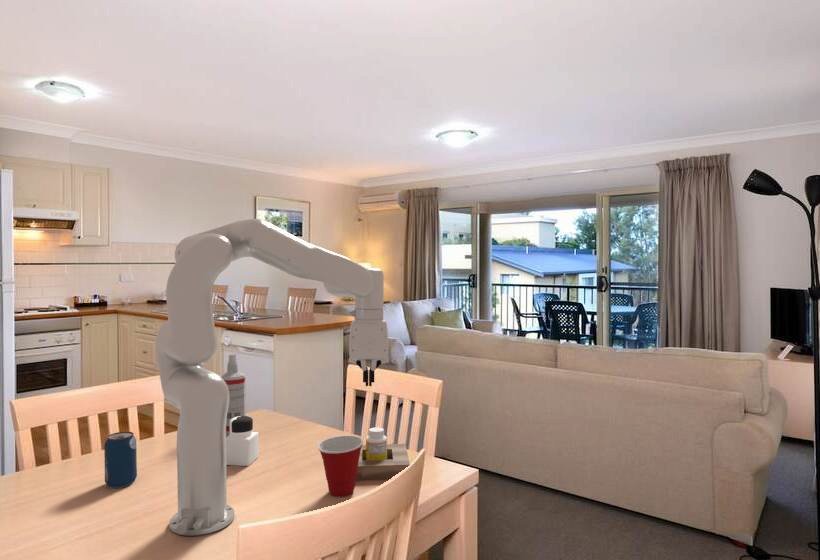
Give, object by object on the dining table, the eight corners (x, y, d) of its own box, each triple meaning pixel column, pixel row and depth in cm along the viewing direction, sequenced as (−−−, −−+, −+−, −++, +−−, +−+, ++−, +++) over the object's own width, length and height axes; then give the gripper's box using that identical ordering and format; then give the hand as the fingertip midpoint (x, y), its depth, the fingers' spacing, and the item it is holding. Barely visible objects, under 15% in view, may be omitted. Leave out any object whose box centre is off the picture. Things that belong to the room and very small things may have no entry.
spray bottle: (242, 434, 170) (242, 355, 169) (218, 435, 169) (217, 356, 168) (247, 426, 178) (246, 352, 177) (223, 427, 177) (223, 352, 176)
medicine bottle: (259, 456, 149) (258, 414, 149) (248, 466, 142) (248, 421, 142) (234, 456, 150) (234, 413, 150) (223, 465, 143) (222, 421, 143)
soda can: (143, 479, 133) (142, 432, 133) (121, 490, 127) (120, 440, 126) (120, 476, 135) (120, 429, 135) (98, 487, 129) (97, 438, 128)
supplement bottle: (371, 462, 145) (371, 425, 144) (390, 465, 143) (390, 427, 143) (362, 470, 139) (362, 431, 139) (382, 472, 138) (381, 433, 137)
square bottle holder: (410, 478, 134) (409, 464, 134) (345, 480, 133) (345, 466, 133) (405, 455, 150) (405, 443, 150) (348, 457, 149) (347, 445, 148)
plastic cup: (313, 486, 129) (313, 437, 129) (356, 480, 133) (356, 432, 133) (322, 505, 119) (321, 451, 119) (368, 497, 123) (368, 445, 122)
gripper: (339, 316, 135) (339, 388, 136) (398, 316, 136) (397, 388, 137) (341, 314, 143) (340, 382, 143) (396, 314, 144) (396, 382, 144)
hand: (368, 385), depth 140 cm, fingers closed
